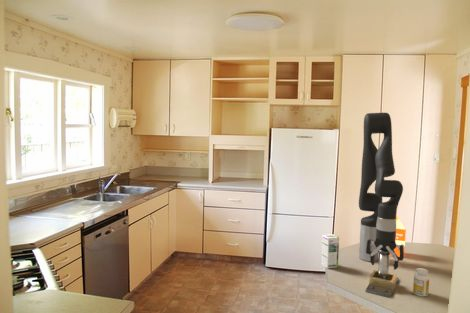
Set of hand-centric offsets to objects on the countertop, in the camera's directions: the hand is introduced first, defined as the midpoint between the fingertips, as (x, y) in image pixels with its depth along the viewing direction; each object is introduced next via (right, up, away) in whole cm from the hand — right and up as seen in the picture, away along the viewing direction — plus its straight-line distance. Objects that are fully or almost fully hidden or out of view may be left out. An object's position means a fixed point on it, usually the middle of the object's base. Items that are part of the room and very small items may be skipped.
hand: (383, 266), depth 148 cm
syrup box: (-17, -6, +21) cm, 27 cm away
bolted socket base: (0, -8, +1) cm, 8 cm away
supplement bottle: (+12, -9, -6) cm, 16 cm away
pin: (0, -8, +1) cm, 8 cm away
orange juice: (+23, -6, +40) cm, 47 cm away
